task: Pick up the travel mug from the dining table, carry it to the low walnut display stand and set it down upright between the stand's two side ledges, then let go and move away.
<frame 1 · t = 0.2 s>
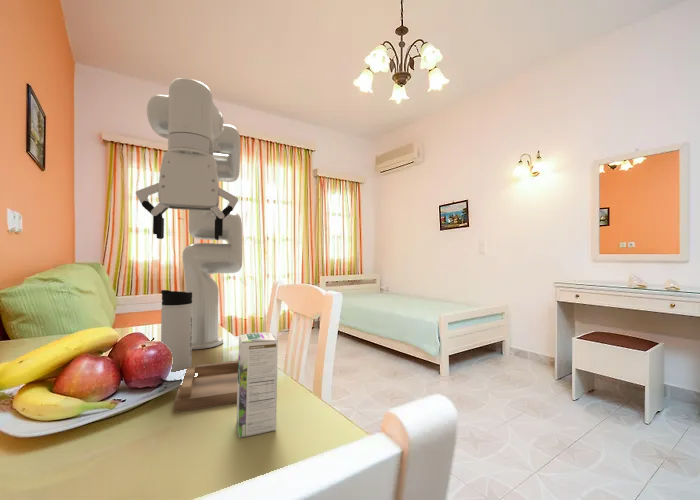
hand: (189, 239, 61), 31 cm above the table, tool pointing down, fingers open, 9 cm apart
syrup box: (256, 427, 53), on the table
travel mug: (175, 377, 74), on the table
stand: (217, 391, 66), on the table
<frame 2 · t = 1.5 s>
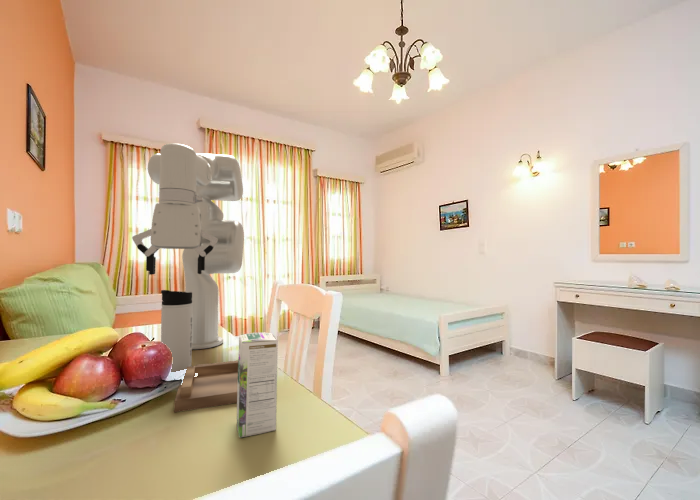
hand: (176, 274, 74), 23 cm above the table, tool pointing down, fingers open, 9 cm apart
nothing on the table moved.
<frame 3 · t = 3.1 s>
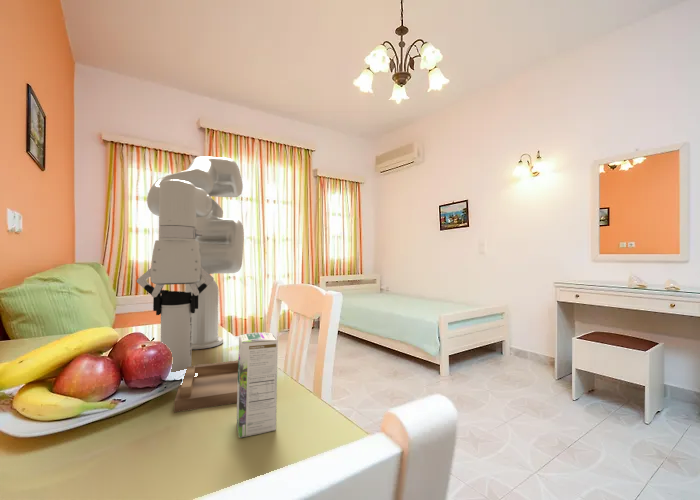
hand: (176, 312, 74), 15 cm above the table, tool pointing down, fingers closed on travel mug, 6 cm apart
travel mug: (175, 377, 74), on the table, touching gripper
everything else where it was.
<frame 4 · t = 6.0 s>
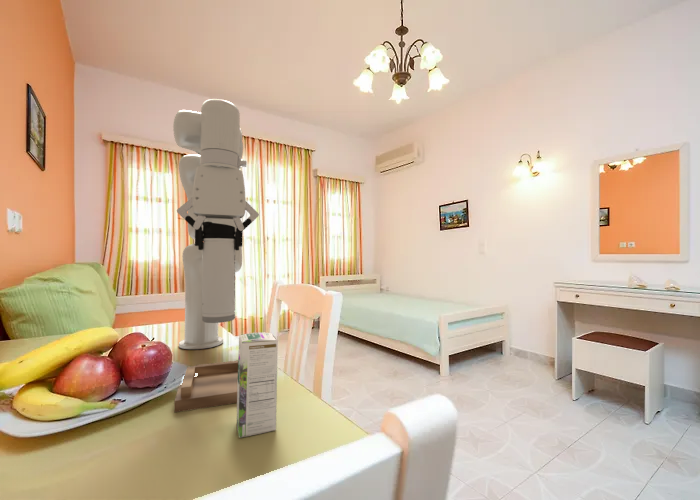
hand: (219, 249, 67), 29 cm above the table, tool pointing down, fingers closed on travel mug, 6 cm apart
travel mug: (218, 321, 67), point 14 cm above the table, touching gripper
everything else where it was.
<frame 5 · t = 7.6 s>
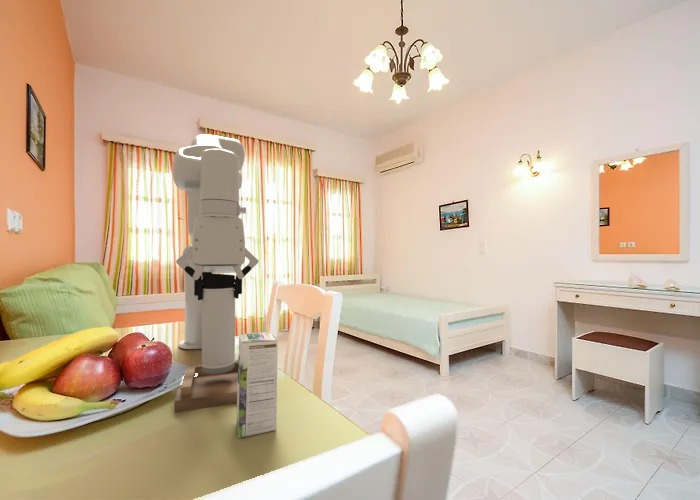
hand: (218, 297, 67), 19 cm above the table, tool pointing down, fingers closed on travel mug, 6 cm apart
travel mug: (217, 370, 66), point 4 cm above the table, touching gripper
everything else where it was.
when the fingers open (17 cm above the table, at t = 8.9 s): travel mug stays where it is, resting on stand.
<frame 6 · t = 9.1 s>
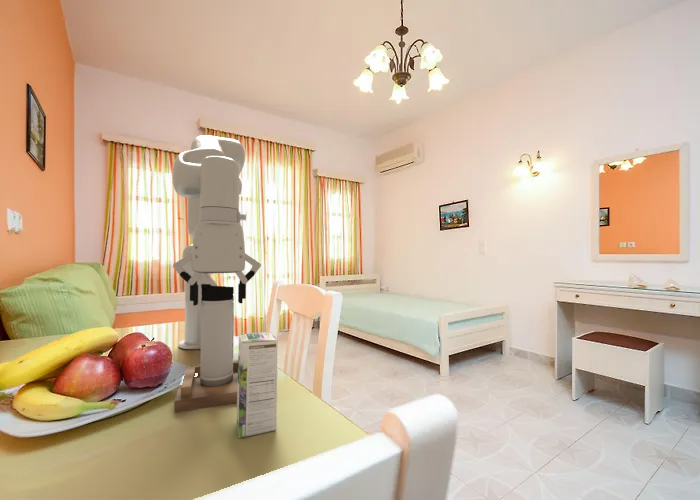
hand: (218, 303, 67), 18 cm above the table, tool pointing down, fingers open, 8 cm apart
travel mug: (216, 382, 66), point 2 cm above the table, touching stand
everything else where it was.
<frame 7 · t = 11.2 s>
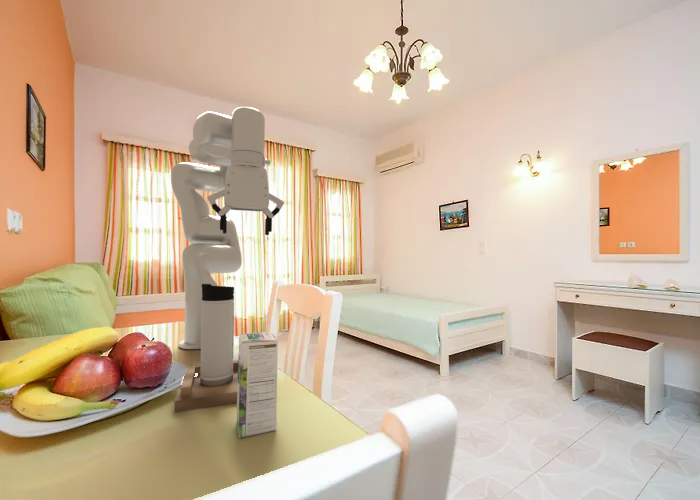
hand: (246, 234, 77), 33 cm above the table, tool pointing down, fingers open, 9 cm apart
nothing on the table moved.
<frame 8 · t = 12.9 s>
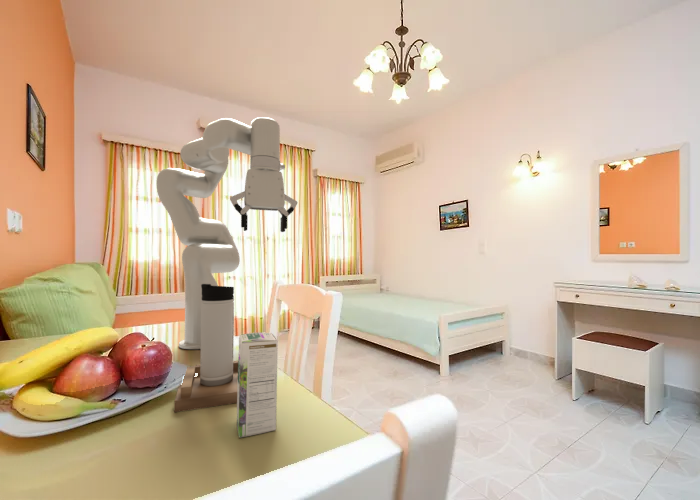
hand: (264, 231, 86), 34 cm above the table, tool pointing down, fingers open, 9 cm apart
nothing on the table moved.
at the end: travel mug inside the target area on the stand (0.4 cm from its centre), point 1.8 cm above the stand's base; travel mug tilted 0°; the gripper is holding nothing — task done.
